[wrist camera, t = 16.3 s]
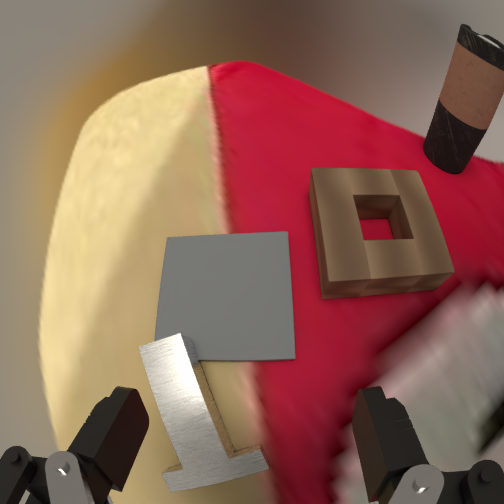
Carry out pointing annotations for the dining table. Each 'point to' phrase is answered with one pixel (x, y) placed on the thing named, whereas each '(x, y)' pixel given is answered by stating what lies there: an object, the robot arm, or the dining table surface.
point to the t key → (193, 419)
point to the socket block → (375, 251)
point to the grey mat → (229, 296)
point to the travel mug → (466, 100)
